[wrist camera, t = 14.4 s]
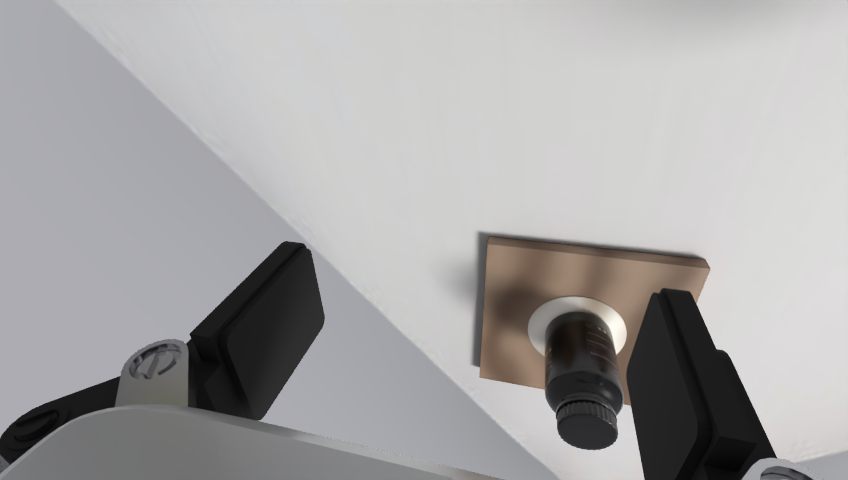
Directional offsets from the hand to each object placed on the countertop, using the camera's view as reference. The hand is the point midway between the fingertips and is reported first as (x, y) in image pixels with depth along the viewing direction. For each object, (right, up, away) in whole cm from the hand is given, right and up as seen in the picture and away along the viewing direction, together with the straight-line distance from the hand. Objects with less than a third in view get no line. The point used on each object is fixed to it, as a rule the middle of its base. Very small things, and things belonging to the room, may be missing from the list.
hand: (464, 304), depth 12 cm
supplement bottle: (+15, -8, +33) cm, 37 cm away
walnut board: (+16, -7, +35) cm, 39 cm away
